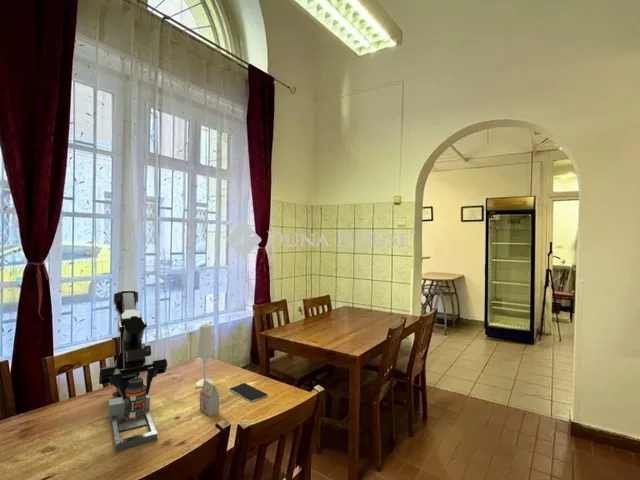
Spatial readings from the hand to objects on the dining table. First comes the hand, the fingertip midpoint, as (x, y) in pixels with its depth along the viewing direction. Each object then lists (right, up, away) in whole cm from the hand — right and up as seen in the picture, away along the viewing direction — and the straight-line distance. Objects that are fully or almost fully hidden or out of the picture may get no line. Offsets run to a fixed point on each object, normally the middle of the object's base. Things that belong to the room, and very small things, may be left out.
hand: (136, 397), depth 106 cm
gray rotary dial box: (-10, -12, +14) cm, 21 cm away
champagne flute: (+7, -12, +40) cm, 43 cm away
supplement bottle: (-1, -7, +1) cm, 7 cm away
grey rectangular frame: (-3, -12, +4) cm, 13 cm away
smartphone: (+27, -13, +32) cm, 44 cm away
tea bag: (+17, -13, +17) cm, 27 cm away
